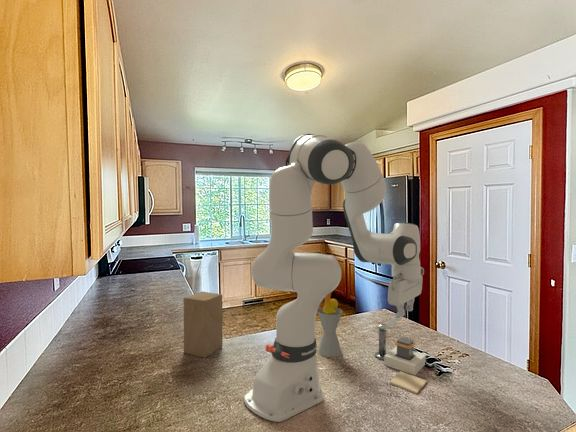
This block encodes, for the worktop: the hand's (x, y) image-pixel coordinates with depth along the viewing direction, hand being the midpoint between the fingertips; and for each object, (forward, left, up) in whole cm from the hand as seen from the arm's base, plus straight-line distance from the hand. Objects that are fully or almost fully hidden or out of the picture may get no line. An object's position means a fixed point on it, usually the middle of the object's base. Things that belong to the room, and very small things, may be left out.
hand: (405, 313), depth 102 cm
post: (0, +8, -17) cm, 19 cm away
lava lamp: (-9, +24, -17) cm, 31 cm away
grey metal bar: (+6, +8, -7) cm, 12 cm away
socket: (0, 0, -17) cm, 17 cm away
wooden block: (-39, +59, -17) cm, 73 cm away
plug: (0, 0, -17) cm, 17 cm away
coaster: (-10, -5, -17) cm, 21 cm away
